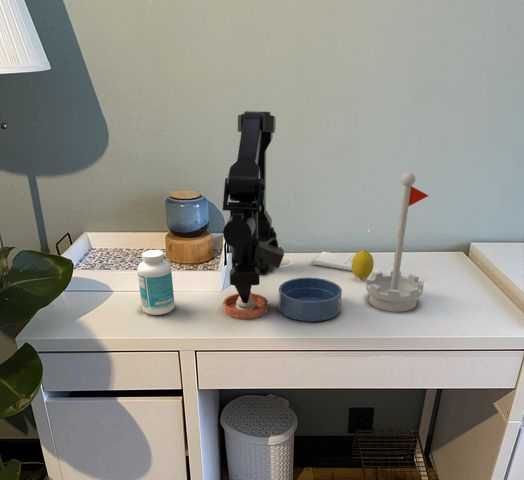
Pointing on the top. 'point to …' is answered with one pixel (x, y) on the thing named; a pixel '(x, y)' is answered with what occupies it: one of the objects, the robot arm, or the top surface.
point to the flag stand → (398, 264)
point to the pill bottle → (155, 283)
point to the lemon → (362, 264)
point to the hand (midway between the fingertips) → (245, 299)
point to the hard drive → (334, 261)
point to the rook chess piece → (245, 306)
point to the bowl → (309, 299)
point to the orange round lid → (232, 311)
